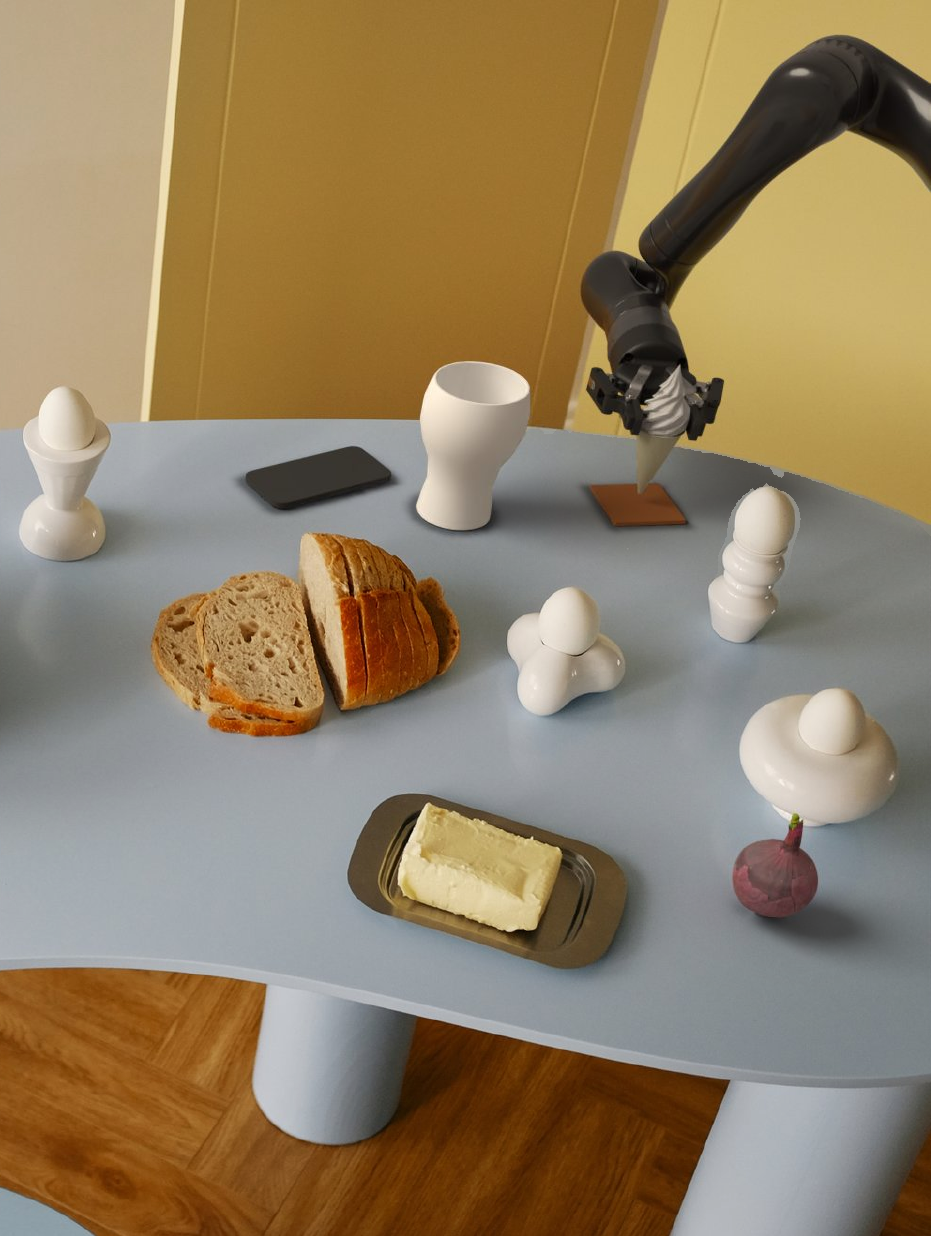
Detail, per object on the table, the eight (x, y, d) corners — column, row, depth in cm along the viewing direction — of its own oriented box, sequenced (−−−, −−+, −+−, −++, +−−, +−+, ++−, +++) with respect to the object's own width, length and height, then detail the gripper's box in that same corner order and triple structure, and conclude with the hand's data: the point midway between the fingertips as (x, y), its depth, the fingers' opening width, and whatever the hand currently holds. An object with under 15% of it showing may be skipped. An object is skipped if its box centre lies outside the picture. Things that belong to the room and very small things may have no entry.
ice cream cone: (658, 510, 172) (698, 380, 163) (609, 497, 174) (646, 368, 165) (670, 489, 176) (710, 360, 166) (622, 476, 178) (659, 348, 168)
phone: (241, 472, 179) (357, 443, 184) (240, 479, 179) (355, 450, 184) (278, 505, 174) (396, 474, 178) (277, 512, 174) (395, 481, 179)
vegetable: (800, 896, 130) (843, 802, 124) (800, 950, 126) (845, 855, 120) (720, 877, 132) (758, 783, 126) (716, 928, 128) (756, 834, 121)
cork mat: (657, 487, 179) (658, 483, 179) (685, 524, 173) (686, 520, 173) (589, 489, 178) (590, 485, 178) (614, 526, 173) (616, 522, 172)
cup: (402, 533, 171) (428, 402, 162) (401, 481, 179) (426, 354, 170) (507, 543, 170) (539, 412, 160) (501, 491, 178) (532, 363, 168)
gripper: (586, 316, 178) (602, 390, 166) (724, 327, 177) (751, 403, 164) (570, 379, 183) (584, 456, 170) (704, 391, 181) (729, 469, 169)
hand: (666, 429), depth 167 cm, fingers closed on ice cream cone, 5 cm apart
